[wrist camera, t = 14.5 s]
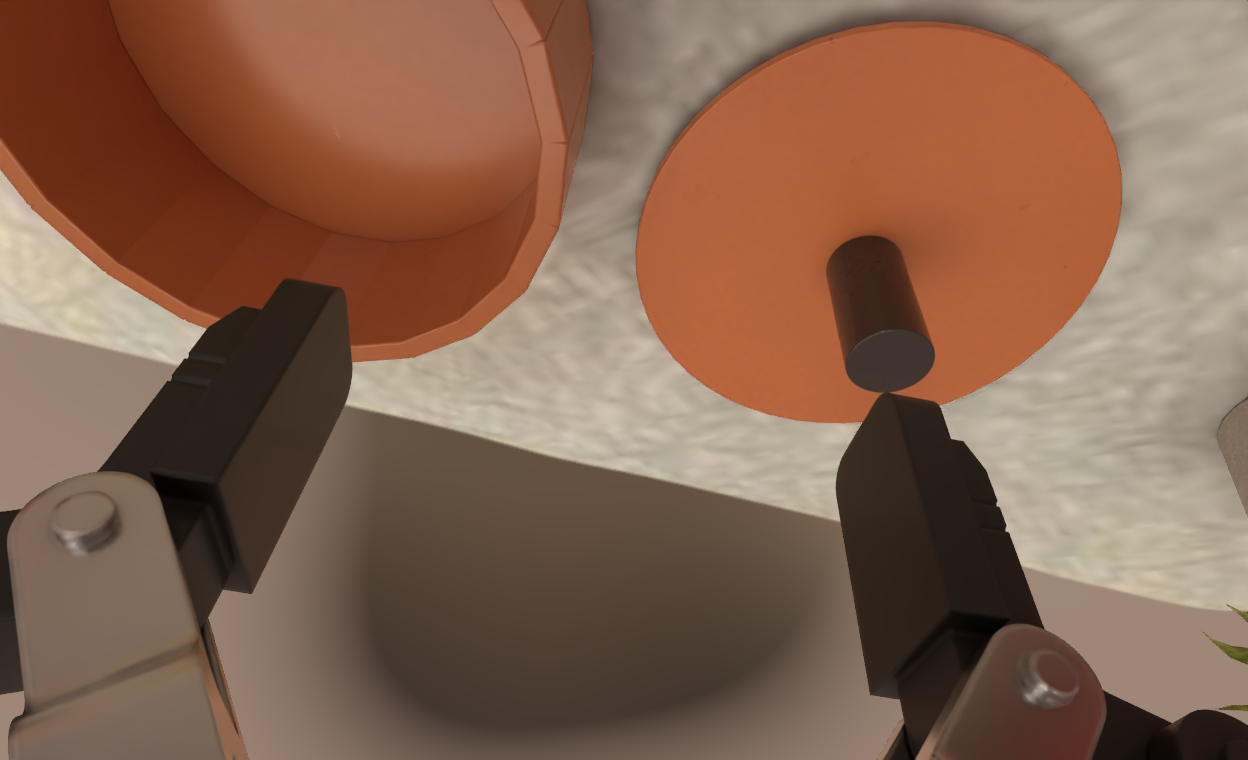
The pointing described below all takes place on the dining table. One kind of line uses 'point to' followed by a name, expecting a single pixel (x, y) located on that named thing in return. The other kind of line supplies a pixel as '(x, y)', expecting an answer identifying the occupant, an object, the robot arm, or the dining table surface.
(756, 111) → the lid
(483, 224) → the pan
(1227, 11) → the dining table surface
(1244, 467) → the house plant
